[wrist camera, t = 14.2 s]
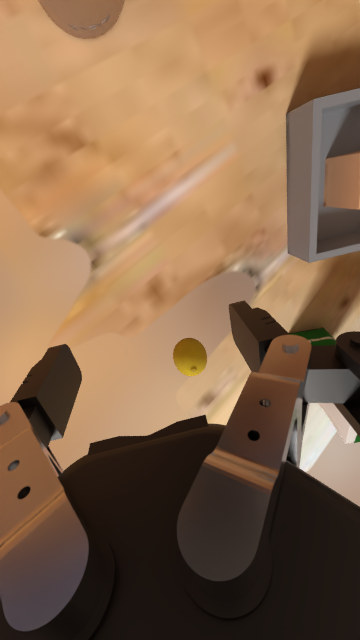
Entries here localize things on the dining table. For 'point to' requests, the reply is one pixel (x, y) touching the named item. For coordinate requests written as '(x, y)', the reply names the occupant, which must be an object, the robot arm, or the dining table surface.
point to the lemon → (190, 357)
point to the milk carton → (340, 423)
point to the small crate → (342, 181)
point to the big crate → (320, 176)
